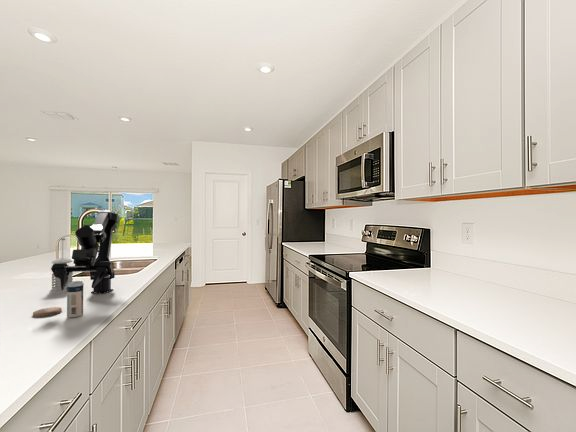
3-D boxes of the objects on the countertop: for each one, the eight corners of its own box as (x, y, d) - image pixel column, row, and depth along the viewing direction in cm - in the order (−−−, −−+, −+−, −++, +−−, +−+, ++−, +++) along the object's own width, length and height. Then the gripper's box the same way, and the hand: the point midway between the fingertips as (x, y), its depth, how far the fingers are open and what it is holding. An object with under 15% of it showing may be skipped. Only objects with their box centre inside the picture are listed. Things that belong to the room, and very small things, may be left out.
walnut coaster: (49, 309, 108) (49, 306, 108) (67, 310, 106) (67, 308, 106) (26, 316, 100) (26, 313, 100) (45, 318, 98) (45, 315, 98)
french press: (71, 286, 142) (71, 236, 142) (79, 290, 135) (80, 237, 135) (45, 290, 134) (46, 237, 134) (54, 294, 127) (54, 239, 127)
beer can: (86, 314, 102) (86, 281, 102) (72, 319, 98) (73, 284, 98) (77, 313, 104) (77, 280, 104) (63, 317, 99) (63, 283, 99)
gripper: (53, 241, 105) (37, 277, 94) (111, 240, 111) (102, 274, 100) (62, 259, 112) (48, 295, 102) (116, 258, 118) (108, 291, 108)
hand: (77, 288), depth 103 cm, fingers open, 9 cm apart
